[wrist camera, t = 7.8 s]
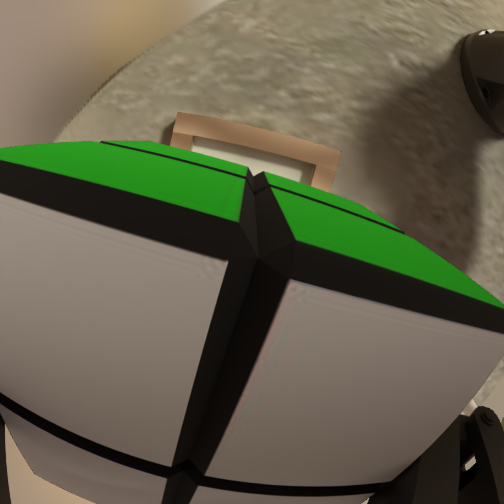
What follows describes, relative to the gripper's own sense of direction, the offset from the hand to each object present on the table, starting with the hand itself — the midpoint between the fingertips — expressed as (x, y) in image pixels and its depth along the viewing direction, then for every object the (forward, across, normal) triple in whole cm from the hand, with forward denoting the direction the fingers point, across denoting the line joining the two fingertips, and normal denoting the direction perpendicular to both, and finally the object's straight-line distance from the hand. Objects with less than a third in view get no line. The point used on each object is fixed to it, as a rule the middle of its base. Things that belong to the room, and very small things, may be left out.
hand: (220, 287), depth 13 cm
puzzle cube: (+2, 0, 0) cm, 2 cm away
